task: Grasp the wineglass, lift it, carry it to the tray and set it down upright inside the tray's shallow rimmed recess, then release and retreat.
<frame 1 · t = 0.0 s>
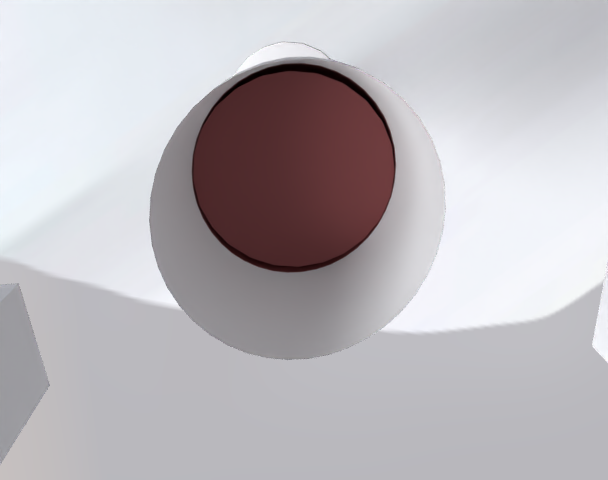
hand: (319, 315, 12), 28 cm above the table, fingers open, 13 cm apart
wineglass: (288, 106, 38), on the table
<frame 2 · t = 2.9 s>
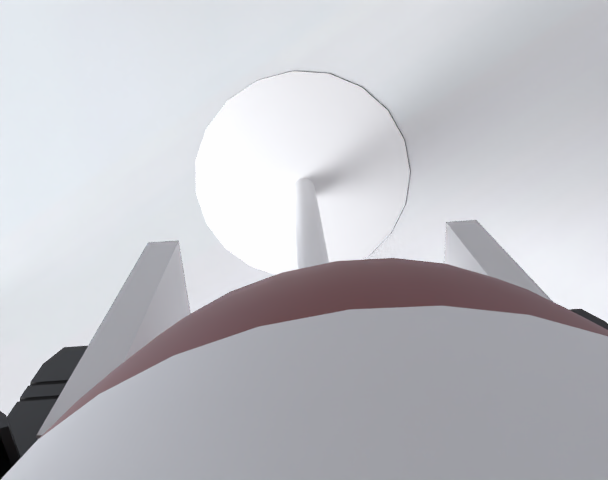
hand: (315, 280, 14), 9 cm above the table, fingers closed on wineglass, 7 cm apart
wineglass: (302, 181, 22), on the table, touching gripper
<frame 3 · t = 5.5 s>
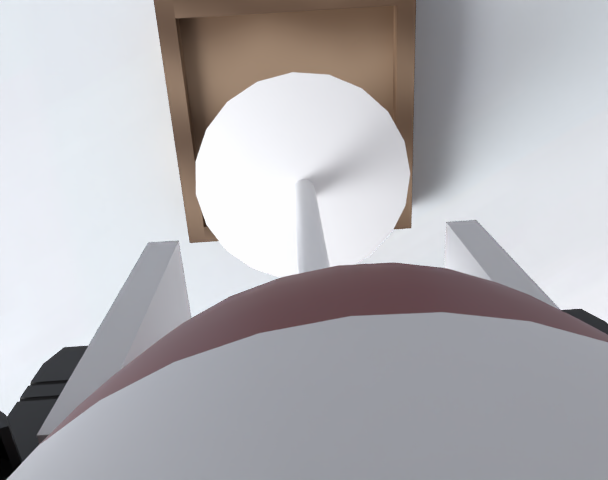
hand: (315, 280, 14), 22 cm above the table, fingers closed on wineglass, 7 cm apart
tray: (292, 114, 34), on the table
wineglass: (302, 182, 22), point 14 cm above the table, touching gripper
when the fingers open (13 cm above the table, at t = 8.1 s): wineglass drops 1 cm, resting on tray.
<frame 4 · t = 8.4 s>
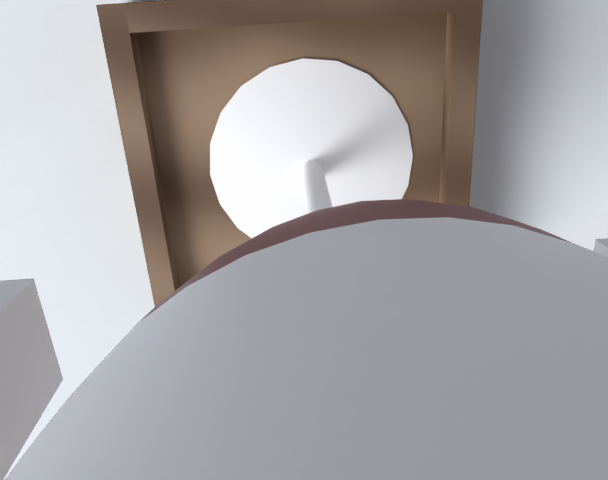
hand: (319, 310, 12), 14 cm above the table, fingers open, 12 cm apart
tray: (299, 158, 25), on the table
wineglass: (311, 163, 23), point 2 cm above the table, touching tray
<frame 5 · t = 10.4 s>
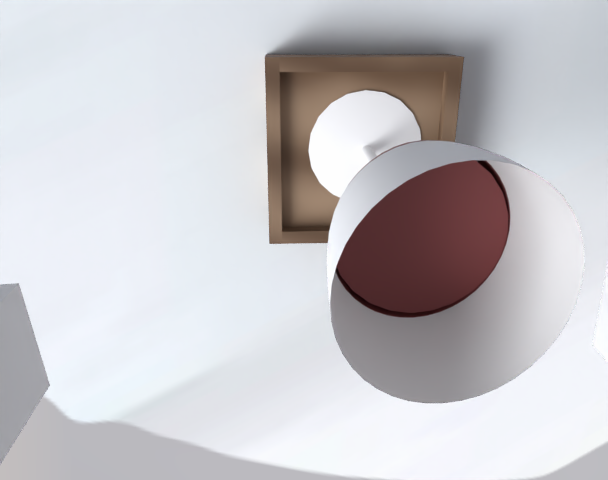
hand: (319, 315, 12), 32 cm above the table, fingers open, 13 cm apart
tray: (354, 145, 43), on the table
wineglass: (364, 148, 41), point 2 cm above the table, touching tray
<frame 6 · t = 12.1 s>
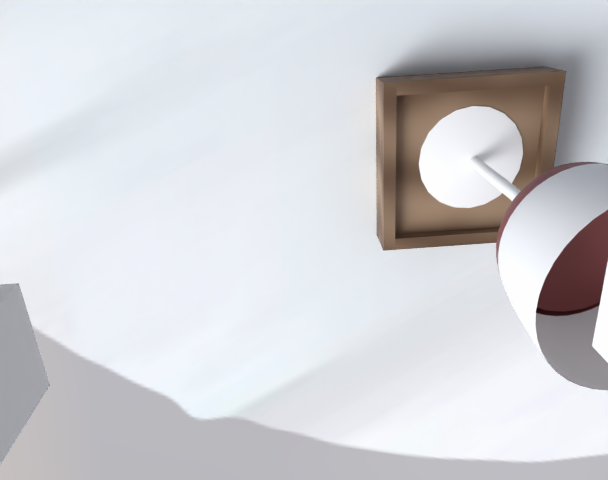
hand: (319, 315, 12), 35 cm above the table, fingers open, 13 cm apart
tray: (456, 155, 47), on the table
wineglass: (470, 158, 44), point 2 cm above the table, touching tray
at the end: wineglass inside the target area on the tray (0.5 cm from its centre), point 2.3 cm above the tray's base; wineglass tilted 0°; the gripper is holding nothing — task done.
